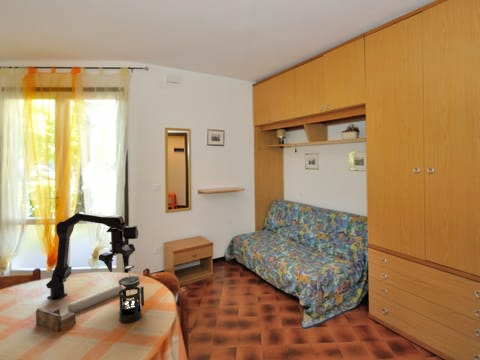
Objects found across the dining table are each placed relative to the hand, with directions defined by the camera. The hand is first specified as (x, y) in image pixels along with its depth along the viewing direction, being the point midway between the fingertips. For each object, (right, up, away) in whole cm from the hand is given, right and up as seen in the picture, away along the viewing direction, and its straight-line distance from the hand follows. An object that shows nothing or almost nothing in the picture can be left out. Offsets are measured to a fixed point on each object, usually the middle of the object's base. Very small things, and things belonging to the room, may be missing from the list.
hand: (118, 268), depth 142 cm
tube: (-6, -14, -10) cm, 18 cm away
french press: (+17, -14, -24) cm, 32 cm away
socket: (-14, -14, -28) cm, 34 cm away
